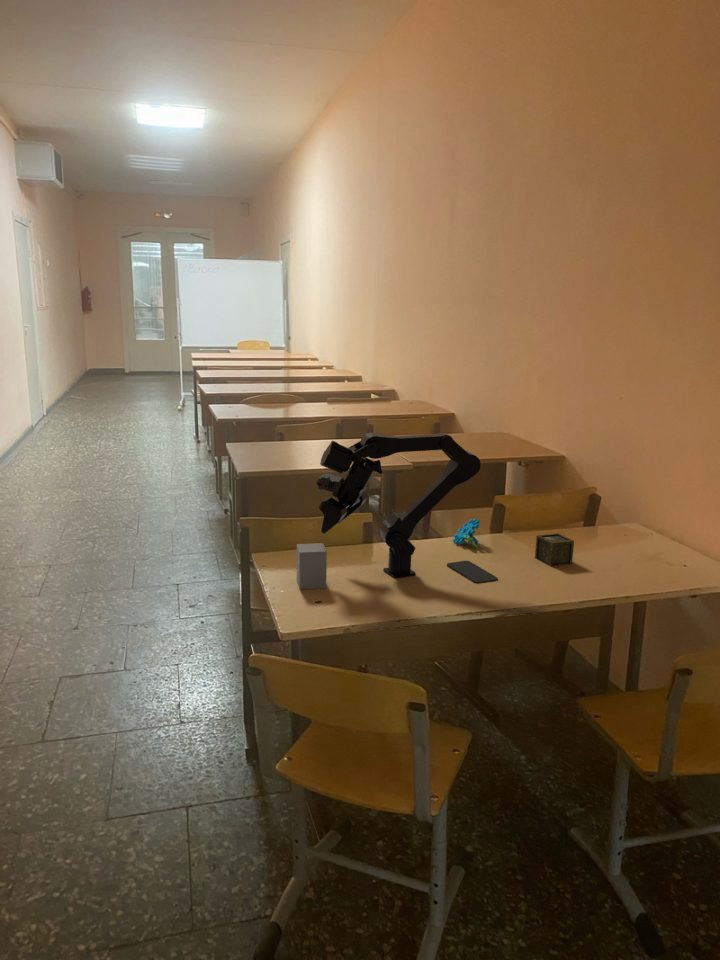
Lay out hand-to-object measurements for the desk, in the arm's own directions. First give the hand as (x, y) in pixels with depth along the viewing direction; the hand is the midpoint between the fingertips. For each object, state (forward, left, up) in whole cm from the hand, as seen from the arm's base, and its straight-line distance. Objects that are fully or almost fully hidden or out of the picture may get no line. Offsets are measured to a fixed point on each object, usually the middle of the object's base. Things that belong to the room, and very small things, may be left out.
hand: (330, 527), depth 185 cm
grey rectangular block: (-8, +9, -12) cm, 16 cm away
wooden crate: (-18, -61, -12) cm, 64 cm away
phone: (-17, -34, -12) cm, 40 cm away
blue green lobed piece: (+5, -47, -12) cm, 48 cm away
